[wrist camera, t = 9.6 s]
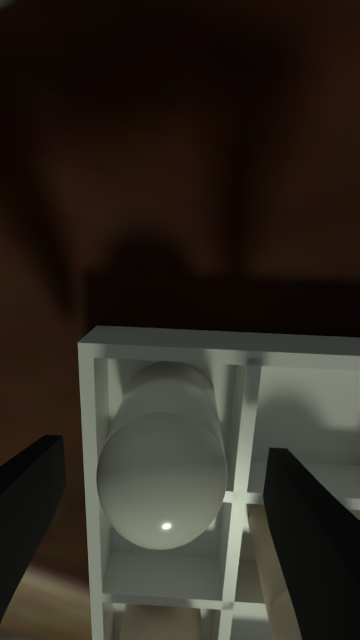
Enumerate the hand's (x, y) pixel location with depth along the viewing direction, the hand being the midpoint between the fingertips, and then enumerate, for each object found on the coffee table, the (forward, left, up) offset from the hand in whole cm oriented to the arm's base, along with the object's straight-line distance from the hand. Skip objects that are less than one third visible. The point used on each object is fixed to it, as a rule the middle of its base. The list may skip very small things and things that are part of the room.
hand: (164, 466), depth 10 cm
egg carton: (-3, +7, -5) cm, 9 cm away
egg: (0, 0, -4) cm, 4 cm away
